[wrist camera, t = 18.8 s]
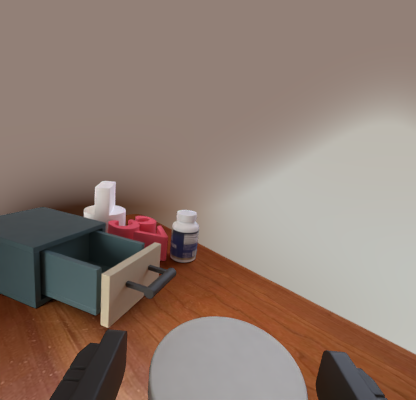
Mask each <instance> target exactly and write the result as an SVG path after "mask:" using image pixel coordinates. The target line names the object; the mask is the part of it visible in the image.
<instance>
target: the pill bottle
mask: <svg viewBox="0 0 416 400" xmlns="http://www.w3.org/2000/svg"><path fill="white" fill-rule="evenodd" d="M196 219H197V213H196V212H194V211H191V210H179V211H178V212H177V221H175V222H174V223H173V226H172V237H171V248H170V257H171V258H172V259H173V260H175V261H177V262H183V263H185V262H191V261H193V260H194V259H195V258H196V251H197V241H198V231H199V225H198V224H197V223H196V222H195V221H196Z"/></svg>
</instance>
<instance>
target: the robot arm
mask: <svg viewBox="0 0 416 400" xmlns="http://www.w3.org/2000/svg"><path fill="white" fill-rule="evenodd" d="M126 351H127V331H120V330H109V329H108V330H107V331H106V332H105V334H104V336H103V338H102V340H101V342H100V344H97V343H90V344H88V345H87V346H86V347H85V348H84V349H83V350H81V351H80V352H79V353H78V354H77V356H76V358H75V359H74V361H73V362H72V364H71V366H70V369H68V371H67V372H66V374H65V375H64V377H63V380H61V382H60V383H59V385H58V387H57V388H56V390H55V392H54V393H53V395H52V396H51V398H50V400H115V399H116V397H117V394H118V391H119V388H120V385H121V383H122V380H123V376H124V372H125V366H126ZM316 391H317V396H318V399H319V400H387V398H385V395H384V394H383V393H382V391H381V390H380V388H379V387H378V385H377V384H376V383H375V381H374V380H373V379H372V378H371V377H369V376H368V375H367V374H366V373H365V372H364V371H363V370H362V369H360V368H356V366H355V365H354V363H353V362H352V360H351V359H350V357H349V356H348V355H347V354H346V353H345V352H337V351H324V353H323V355H322V359H321V363H320V368H319V372H318V376H317V380H316Z"/></svg>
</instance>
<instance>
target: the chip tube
mask: <svg viewBox="0 0 416 400" xmlns="http://www.w3.org/2000/svg"><path fill="white" fill-rule="evenodd" d="M148 400H308V395H307V389H306V385H305V382H304V378H303V376H302V373H301V371H300V369H299V367H298V365H297V363H296V362H295V360H294V359H293V357H292V356H291V355H290V353H289V352H288V351H287V350H286V349H285V348H284V346H283V345H281V344H280V343H279V342H278V341H277V340H276V339H275V338H273V337H272V336H271V335H269V334H268V333H266V332H265V331H263V330H262V329H260V328H258V327H256V326H254V325H252V324H249V323H247V322H244V321H241V320H237V319H233V318H227V317H203V318H197V319H194V320H190V321H188V322H185V323H183V324H181V325H179V326H178V327H176V328H174V329H173V330H172V331H170V332H169V333H168V334H167V335H166V336H165V337H164V338H163V340H162V341H161V342H160V343H159V345H158V347H157V349H156V350H155V352H154V355H153V357H152V360H151V365H150V371H149V383H148Z"/></svg>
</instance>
